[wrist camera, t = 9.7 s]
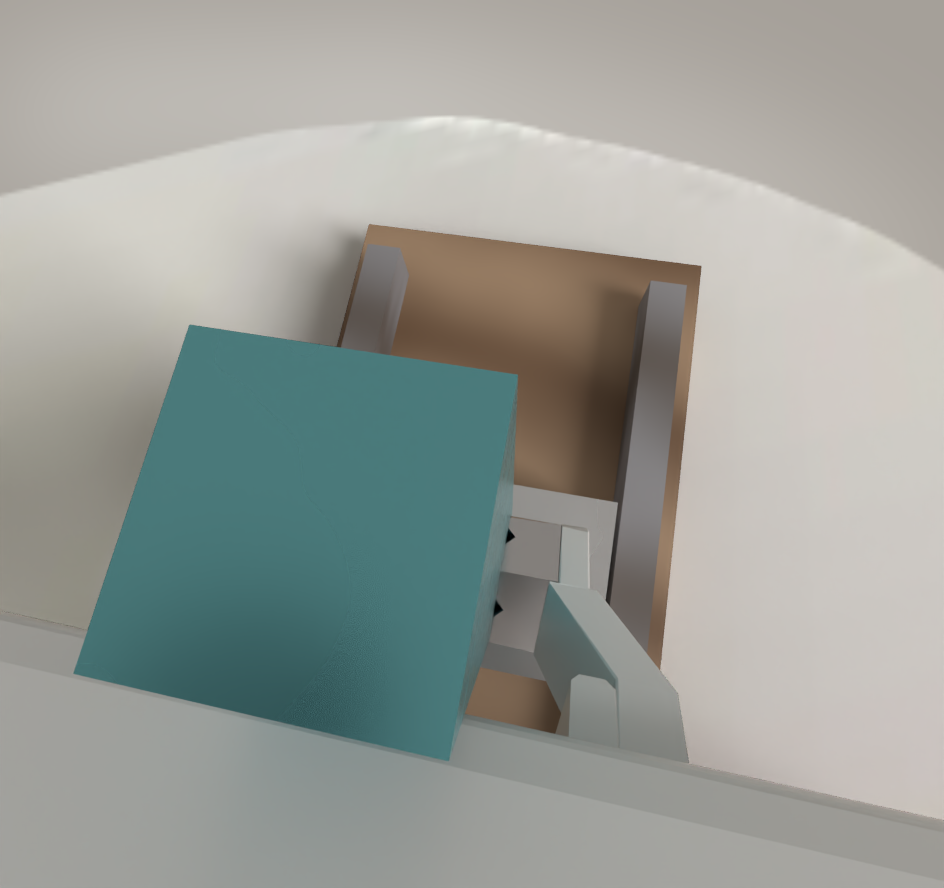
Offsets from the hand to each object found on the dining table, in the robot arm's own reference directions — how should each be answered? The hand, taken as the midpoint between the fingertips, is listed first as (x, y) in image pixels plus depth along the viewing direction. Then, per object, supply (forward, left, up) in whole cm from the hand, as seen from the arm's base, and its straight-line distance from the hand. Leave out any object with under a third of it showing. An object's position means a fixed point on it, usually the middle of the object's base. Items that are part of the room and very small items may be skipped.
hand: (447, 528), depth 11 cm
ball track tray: (-1, -1, -10) cm, 10 cm away
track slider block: (-1, 0, -8) cm, 8 cm away
